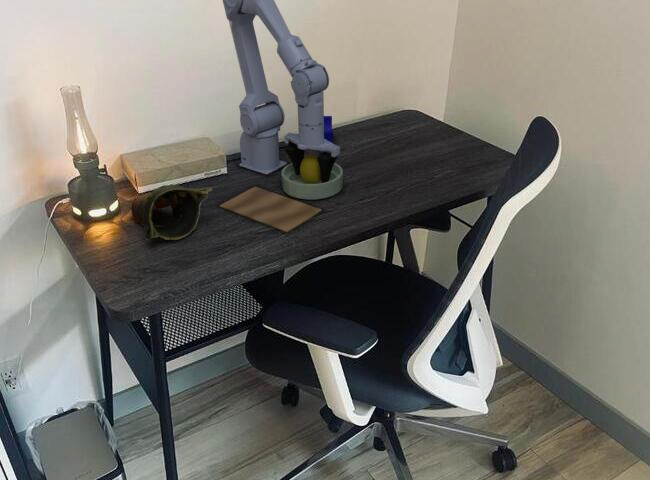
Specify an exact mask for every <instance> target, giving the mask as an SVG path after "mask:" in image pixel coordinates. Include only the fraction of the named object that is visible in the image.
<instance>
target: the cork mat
mask: <svg viewBox="0 0 650 480" xmlns="http://www.w3.org/2000/svg"><path fill="white" fill-rule="evenodd" d="M218 207H219V208H222V209H225V210H227V211H230V212H232V213H235V214H237V215H240V216H242V217H245V218H248V219H251V220H253V221H256V222H259V223H261V224H263V225H266V226H268V227H272V228H274V229H277V230H279V231H281V232H285V233H289V232H290V231H293V230H294V229H295V228H297V227H298V226H300V225H302V224H304V223H305V222H307V221H308V220H310V219H311V218H313V217H314V216H316V215H318V214H320V213H322V211H323V209H322V208H319V207H316V206H313V205H310V204H308V203H305V202H301V201H298V200H295V199H293V198H290V197H286V196H284V195H281V194H278V193H275V192H272V191H270V190H267V189H264V188H261V187H258V186H253V187H251V188H249V189H248V190H245V191H244V192H242V193H240V194H237V195H236V196H234V197H233V198H230V199H229V200H227V201H225V202H223V203H221V204H219V206H218Z"/></svg>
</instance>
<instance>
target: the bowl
mask: <svg viewBox="0 0 650 480" xmlns="http://www.w3.org/2000/svg"><path fill="white" fill-rule="evenodd" d="M343 171H344V170H343V168H342V166H341V165H339V164H337V163H336V162H335V163H334V165H333V168H332V171H331V174H330V178H329V181H328V182H325V183H321V181H320V182H319V183H317V184H307V183H306V182H304V180H303V179H302V177H301V174H300V175H296V173H295V170H294V167H293V164H292V162H290V163H289V164H287V165H285V166H283V167H282V170H281V174H280V175H281V176H280V178H281V189H282V190H283V192H284V193H286V195H288V196H290V197H293V198H296V199H300V200H321V199H327V198H331V197H333V196H335V195H337V194H338V193H340V192H341V191H342V189H343V187H344V186H343V184H344V183H343V182H344V175H343V174H344V172H343Z"/></svg>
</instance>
